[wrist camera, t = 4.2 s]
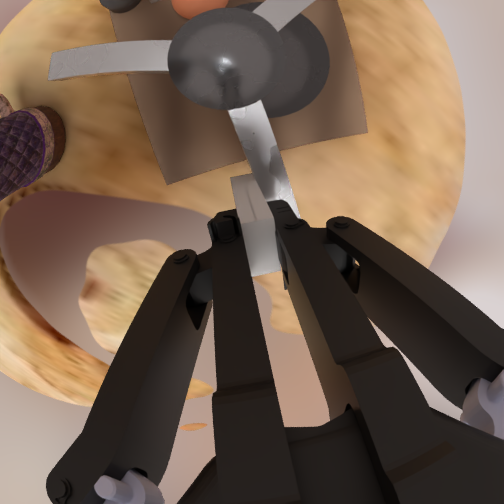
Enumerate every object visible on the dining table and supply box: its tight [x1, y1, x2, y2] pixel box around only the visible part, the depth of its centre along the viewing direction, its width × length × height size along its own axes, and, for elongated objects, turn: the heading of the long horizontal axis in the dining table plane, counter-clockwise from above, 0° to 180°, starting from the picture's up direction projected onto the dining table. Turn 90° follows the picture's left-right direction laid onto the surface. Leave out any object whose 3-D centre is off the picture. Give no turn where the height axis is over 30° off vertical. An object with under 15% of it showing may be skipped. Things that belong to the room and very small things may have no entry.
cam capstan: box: [48, 0, 330, 219], centre depth 15 cm, size 19×16×8 cm
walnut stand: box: [100, 0, 368, 185], centre depth 15 cm, size 18×20×4 cm
